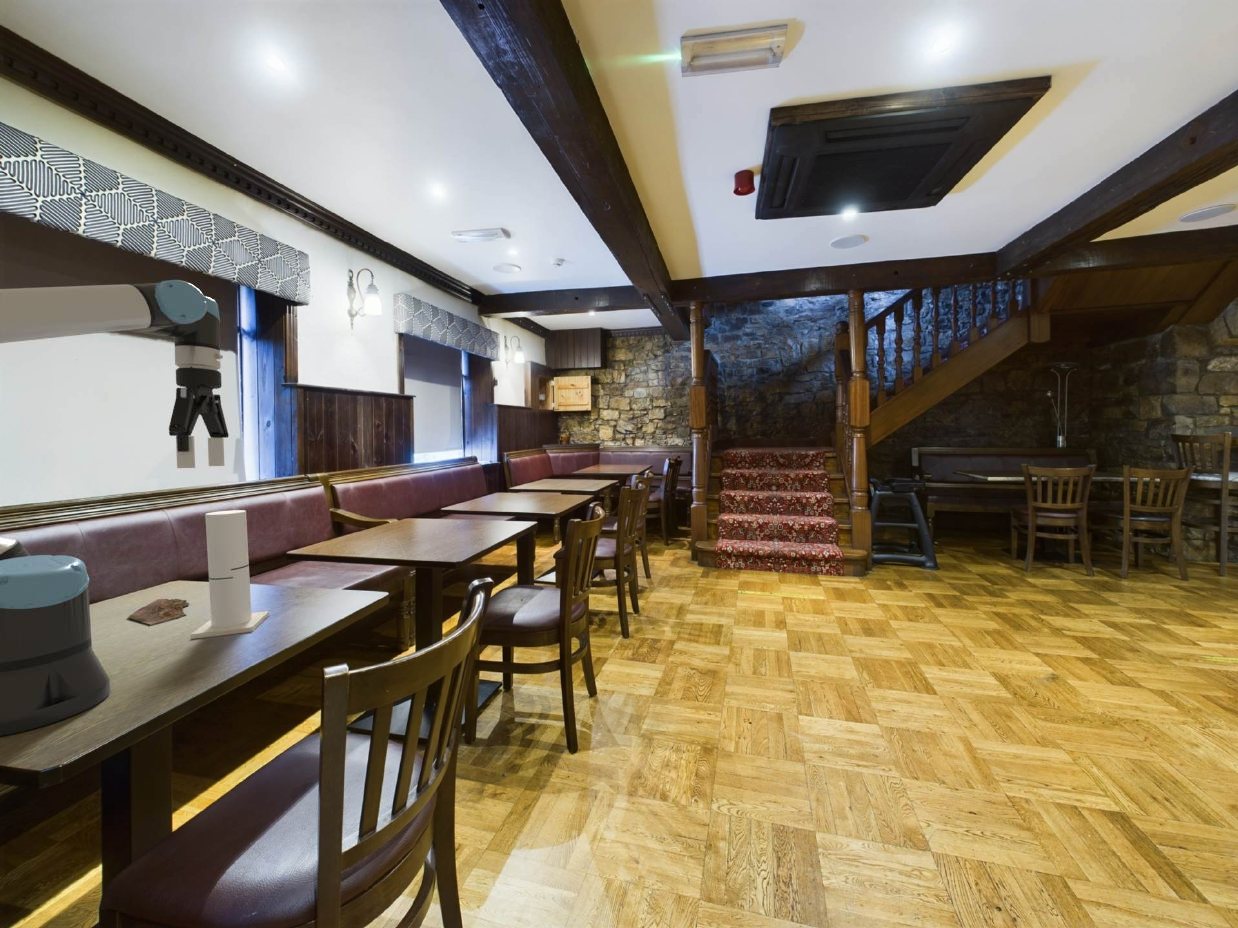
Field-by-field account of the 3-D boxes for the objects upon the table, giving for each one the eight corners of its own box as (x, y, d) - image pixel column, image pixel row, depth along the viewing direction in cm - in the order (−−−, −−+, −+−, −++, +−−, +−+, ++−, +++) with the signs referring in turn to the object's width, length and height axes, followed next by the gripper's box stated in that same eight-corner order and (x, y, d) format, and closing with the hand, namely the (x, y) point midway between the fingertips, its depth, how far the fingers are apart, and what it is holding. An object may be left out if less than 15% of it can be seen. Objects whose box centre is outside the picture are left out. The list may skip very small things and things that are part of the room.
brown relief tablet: (184, 620, 116) (184, 616, 116) (119, 632, 110) (119, 628, 110) (192, 595, 137) (191, 591, 137) (137, 604, 130) (136, 600, 130)
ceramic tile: (252, 631, 108) (252, 626, 108) (190, 638, 105) (190, 634, 105) (269, 615, 119) (269, 611, 119) (213, 621, 115) (213, 617, 115)
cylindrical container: (257, 619, 113) (251, 511, 112) (219, 630, 107) (213, 515, 105) (243, 614, 116) (238, 509, 115) (206, 624, 110) (199, 513, 109)
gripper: (190, 359, 96) (194, 468, 97) (242, 377, 120) (245, 464, 120) (142, 358, 94) (146, 469, 94) (205, 376, 117) (208, 465, 118)
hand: (202, 467), depth 107 cm, fingers open, 13 cm apart
